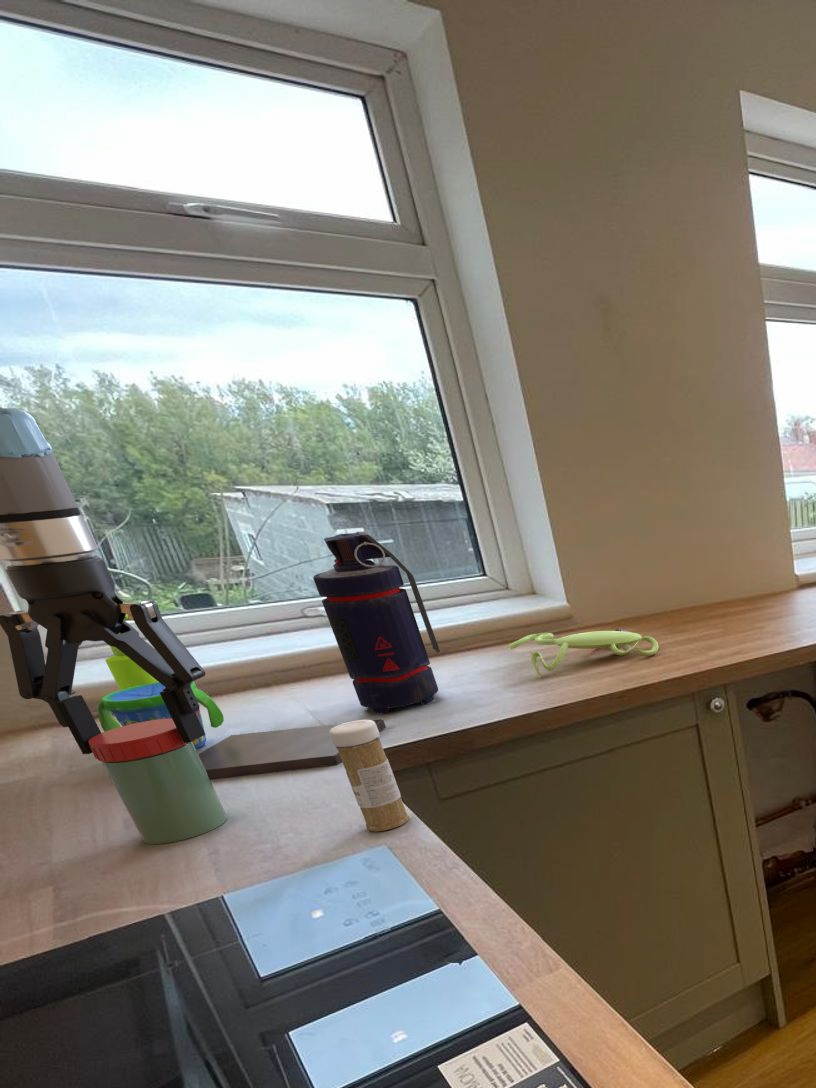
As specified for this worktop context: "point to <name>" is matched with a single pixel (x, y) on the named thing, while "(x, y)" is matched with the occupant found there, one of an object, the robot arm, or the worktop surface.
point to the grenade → (376, 624)
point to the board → (273, 751)
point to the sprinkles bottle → (369, 774)
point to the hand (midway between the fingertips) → (145, 744)
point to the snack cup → (149, 708)
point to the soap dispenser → (127, 670)
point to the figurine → (587, 644)
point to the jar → (168, 795)
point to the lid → (136, 741)
